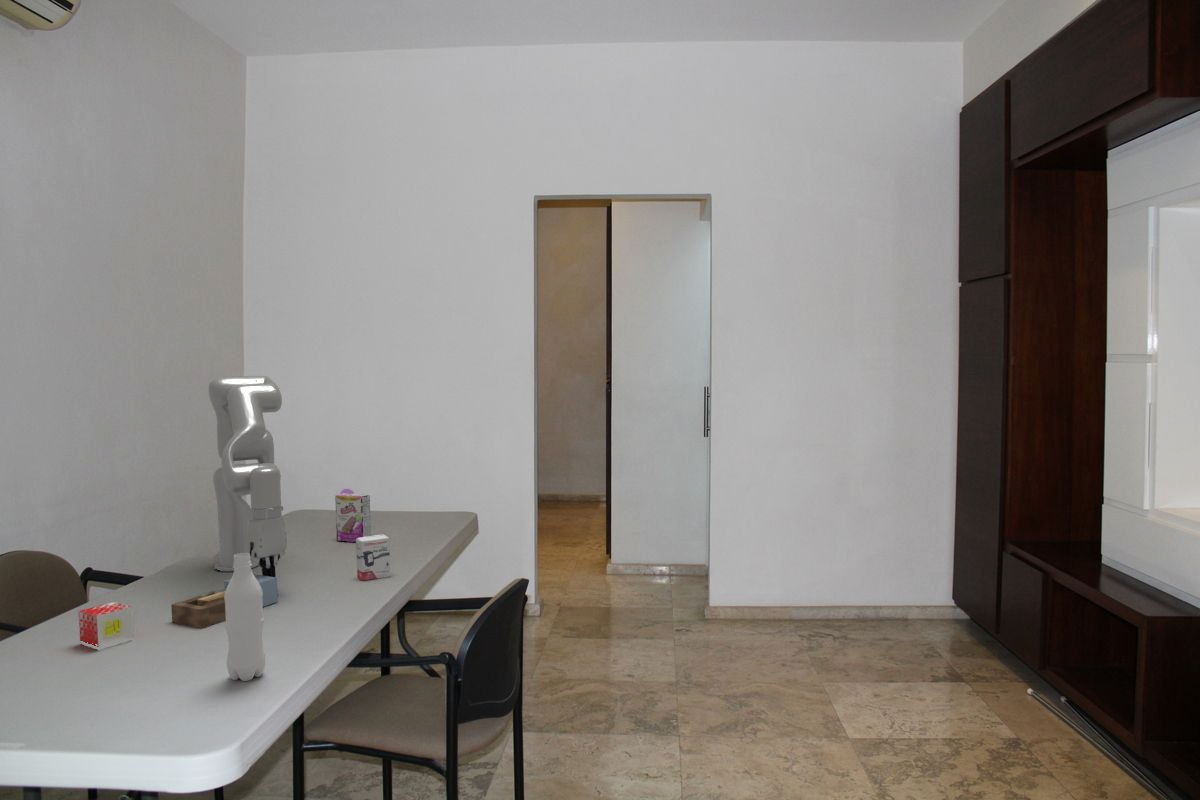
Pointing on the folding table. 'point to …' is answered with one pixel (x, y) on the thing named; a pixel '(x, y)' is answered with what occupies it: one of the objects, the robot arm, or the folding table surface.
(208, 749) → the folding table surface
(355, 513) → the candy bar box
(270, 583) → the blue end cap
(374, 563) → the ink box
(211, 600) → the oak slat
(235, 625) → the water bottle
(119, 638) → the red and white box
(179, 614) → the walnut end cap
